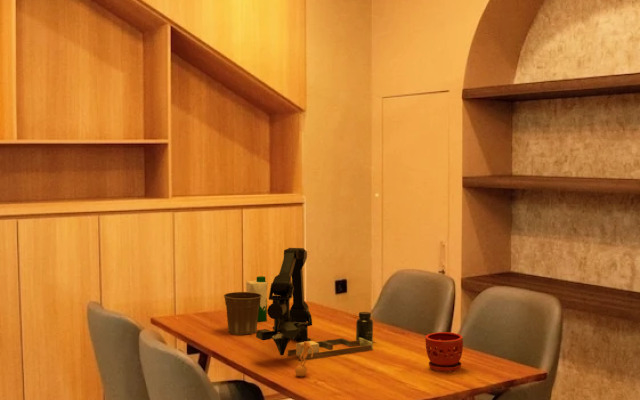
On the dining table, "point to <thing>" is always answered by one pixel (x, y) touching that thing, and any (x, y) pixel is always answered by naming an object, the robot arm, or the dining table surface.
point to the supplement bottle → (364, 326)
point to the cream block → (313, 345)
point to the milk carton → (261, 288)
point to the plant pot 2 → (444, 351)
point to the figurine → (301, 368)
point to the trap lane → (328, 344)
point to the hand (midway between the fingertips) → (281, 355)
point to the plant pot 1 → (242, 312)
